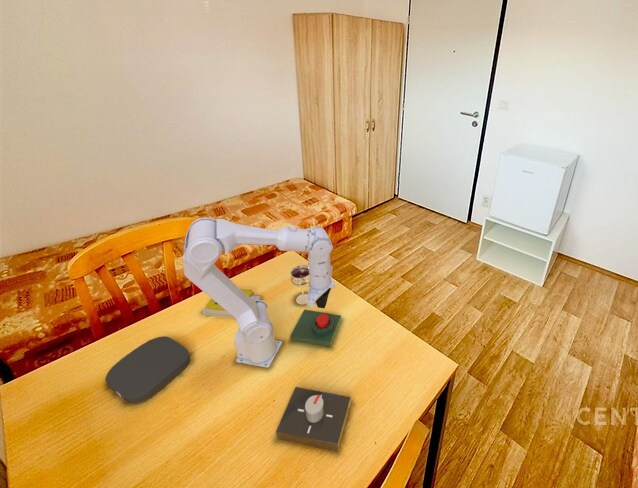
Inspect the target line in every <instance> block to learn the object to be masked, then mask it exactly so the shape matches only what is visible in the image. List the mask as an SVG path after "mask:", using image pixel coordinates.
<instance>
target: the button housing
mask: <svg viewBox="0 0 638 488" xmlns="http://www.w3.org/2000/svg"><path fill="white" fill-rule="evenodd" d="M321 314H326V315H328V317H329V324H328V325H327V326H326V327H324V328H320V327H318V326H317V322H316V319H317V317H318V316H319V315H321ZM341 321H342V316H341V315H340V314H334V313H328V312H322V311H316V310H309V309H303V311H302V313H301V314H300V317H299V319H298V321H297V322H296V324H295V326H294V328H293V330H292V332H291V334H290V342H295V343H300V344H308V345H313V346H319V347H324V348H331V347H332V345H333V343H334V340H335V337H336V335H337V331H338V330H339V326H340V324H341Z"/></svg>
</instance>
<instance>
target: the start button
mask: <svg viewBox="0 0 638 488" xmlns="http://www.w3.org/2000/svg"><path fill="white" fill-rule="evenodd" d="M316 322H317V326H318V327H320V328H324V327H326V326H327V325H328V324H329V317H328V315H326V314H321V315H319V316H318V317H317V319H316Z"/></svg>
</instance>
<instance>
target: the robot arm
mask: <svg viewBox="0 0 638 488" xmlns="http://www.w3.org/2000/svg"><path fill="white" fill-rule="evenodd" d="M241 245H245V246H246V245H247V246H248V245H250V246H251V245H253V246H255V245H256V246H275V247H276V248H277V249H278V250H279V251H282V252H283V251H284V252H297V253H307V263H308V266H309V278H310V282H309V283H308V293H307V294H308V299H307V303H306V306H307V307H308V308H309V307H310V308H316V307H317V309H325V308H326V306H327V304H328V299H329V294H330V293H331V290H332V289H334V288H335V285H336V281H333V279H332V277H333V276H332V273H333V271H334V270H333V268H334V267H333V265H331V254H330V253H332V251H333V249H334V245H333V243H332V241H331V239H330V236H329V235H328V233H327V231H326V230H325V229H324V228H323V227H322V226H319V225H314V226H311V227H309V228H299V227H296V226H295V225H289V226H282V227H281V228H279V229H277V230H275V229H269V228H262V227H256V226H252V225H247V224H246V225H245V224H239V223H235V222H233V221H230V220H226V219H224V218H216V219H215V218H212V217H200V218H197V219H195V220H193V222H191V223H190V225H189V227H188V229H187V231H186V234H185V239H184V249H183V256H182V260H183V274H184V276H185V277H186V278H187V279H188V281H190V282H191V283H192V284H194V285H195V286H196V287H197V288H198V289H200V290H201V291H202V292H203V293H205V295H207V296H208V297H209V298H210V299H211V298H212V299H213V300H214V301H215V302H217V303H218V304H219V305H220V306H221V307H223V308H224V309H225V310H226V311H227V312H229V313H230V314H231V315H232V316H233V317H235V318H234V319H235V321H236V324H237V326H238V328H237V331H236V333H235V336H234V340H233V341H234V348H235V352H236V356H237V357H236V360H235V362H236V363H239V364H245V365H250V366H256V367H260V368H261V367H262V368H270V367H271V365H272V363H273V361H274V359H275V357H276V355H277V354H278V351H279V350H280V348H281V346H282V344H283V341H281V340H278V339H277V340H276V338H275V332H274V325H273V322H272V321H271V320H270V316H269V310H268V303H267V302H266V301H264V300H261V299H260V300H258V299H256V298H255V297H254V296H252V297H248V296H247V295H246V294H245V293H244V292H243V291H242V290H241V289H242V288H241V287H239V286H237V284H235V283H234V281H232V279H230V278H229V277H228V276H227V275H226V274H225V273H224V272H223V271H222V270H220V269H219V268H218V267H217V265H215V263H216V262H217V261H218V260H219V258H220V257H221V256H222V253H223V251H224V255H225V256H226V255H228V254H230V253H231V252H232V251H233V250H235V249H236V248H237V247H238V246H241Z"/></svg>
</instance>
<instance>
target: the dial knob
mask: <svg viewBox="0 0 638 488" xmlns="http://www.w3.org/2000/svg"><path fill="white" fill-rule="evenodd" d="M305 410H306V418H307V420H308V421H309V422H312V423H315V422H318V421H319V420H320V419H321V418H322V417H323V414H324V404H323V399H322V398H321V397H320V395H314V396H311V397H310V398H309V399H308V400H307V401H306V404H305Z"/></svg>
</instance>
